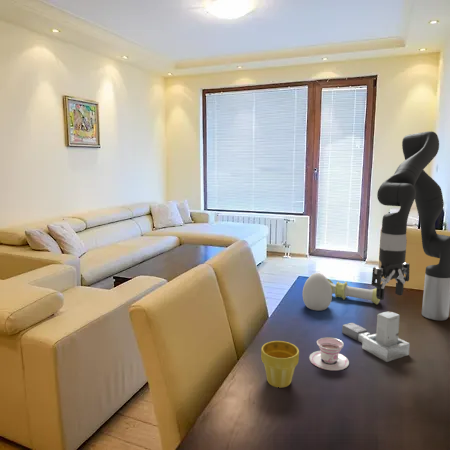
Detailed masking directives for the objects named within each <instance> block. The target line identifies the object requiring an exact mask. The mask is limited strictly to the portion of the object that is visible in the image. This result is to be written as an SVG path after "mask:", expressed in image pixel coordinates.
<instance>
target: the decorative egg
mask: <svg viewBox="0 0 450 450" xmlns="http://www.w3.org/2000/svg"><path fill="white" fill-rule="evenodd" d="M328 279H329V278H327V277H326V275H324V274H322V273H321V272H314V273H313V274H310V276H309V277H308V278H307V279H306V281H305V282H304V284H303V288H302V301H303V303H304V305H305V307H307V309H310V310H311V311H326V310H327V309H328V307H330V305H331V303H332V300H333V299H332V298H333V294H332V289H331V285H330V283H329V281H328Z"/></svg>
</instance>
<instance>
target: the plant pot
mask: <svg viewBox="0 0 450 450" xmlns="http://www.w3.org/2000/svg"><path fill="white" fill-rule="evenodd" d="M260 355H261V356H260V359H261V361H262V364H264V365H263V366H264V369H265V370H264V371H265V375H266V380H267V383H268V384H269V385H270V386H272V387H274V388H278V387H279V388H280V389H281V388H287V387H289V386H290V385H291V383H292V381H293V377H294V373H295V370H296V369H295V368H296V367H297V366H298V364H299V361H300V350H299V347H298V346H296V344H293V343H291V342H288V341H286V340H285V341H283V340H272V341H268V342H266V343H264V344H263V345H262V346H261V351H260Z"/></svg>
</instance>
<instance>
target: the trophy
mask: <svg viewBox="0 0 450 450" xmlns="http://www.w3.org/2000/svg"><path fill="white" fill-rule="evenodd" d="M327 279H328V281H329V283H330V285H331V289H332V295H333V294H334V296H335V298H342V300H346V298H347V297H350V298H356V299H360V300H361V299H363V300H367V301H371V302H372V303H374V305H379V303H380V301H381V300H380V299H377V297H376V291H377V288H376V287H375V288H373V289H370V288H369V289H368V288H361V287H355V286H349V285H348V282H347V281H345V282H339V281H337V282H336V284H335V283H334V282H333V281H332V280H331V279H329V278H327Z"/></svg>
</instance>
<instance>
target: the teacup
mask: <svg viewBox="0 0 450 450" xmlns="http://www.w3.org/2000/svg"><path fill="white" fill-rule="evenodd" d="M316 344H317V346H318V348H319V350H317V351H313V352H312V353H310V354H309V357H308V359H309V362H310V363H311V364H312V365H313V366H316V367H318V368H319V369H322V370H326V371H336V372H337V371H343V370H344V369H347V368H348V367H349V365H350V361H349V359H348V357H346V356H345V355H344V354H342V353H340V352H341V350H342V349H343V348H344V345H345V343H344V341H342V340H340V339H339V338H337V337H321V338H319V339H317V340H316ZM322 360H323V361H322Z"/></svg>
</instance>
